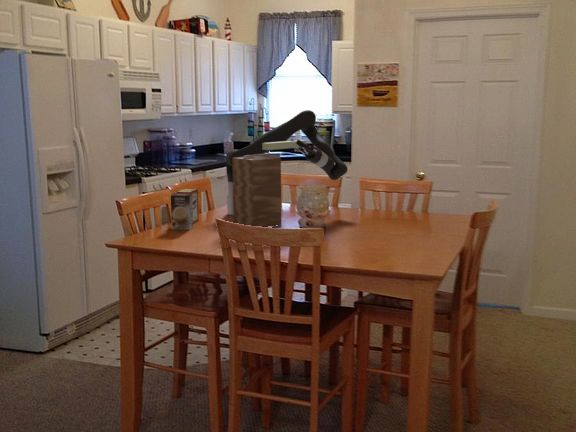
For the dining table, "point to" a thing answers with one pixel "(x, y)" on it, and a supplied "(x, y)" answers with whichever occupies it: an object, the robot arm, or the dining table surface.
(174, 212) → the coffee box
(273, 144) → the sage bar
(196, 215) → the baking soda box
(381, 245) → the dining table surface
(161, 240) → the dining table surface
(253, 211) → the shelf stand
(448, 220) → the dining table surface
